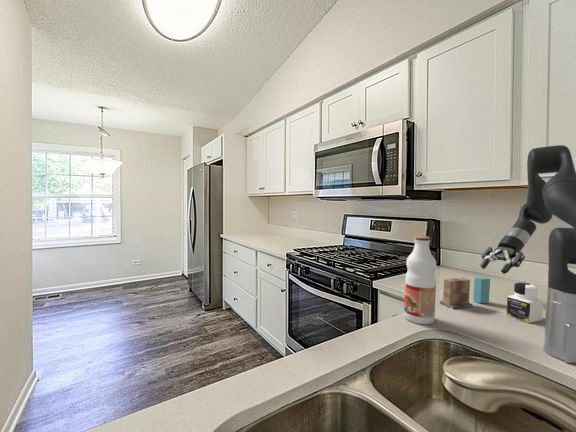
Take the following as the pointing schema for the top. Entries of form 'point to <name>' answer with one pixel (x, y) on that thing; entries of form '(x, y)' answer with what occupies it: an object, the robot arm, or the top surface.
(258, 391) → the top surface
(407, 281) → the fruit juice
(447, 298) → the brown block
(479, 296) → the teal block
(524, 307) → the medicine bottle
